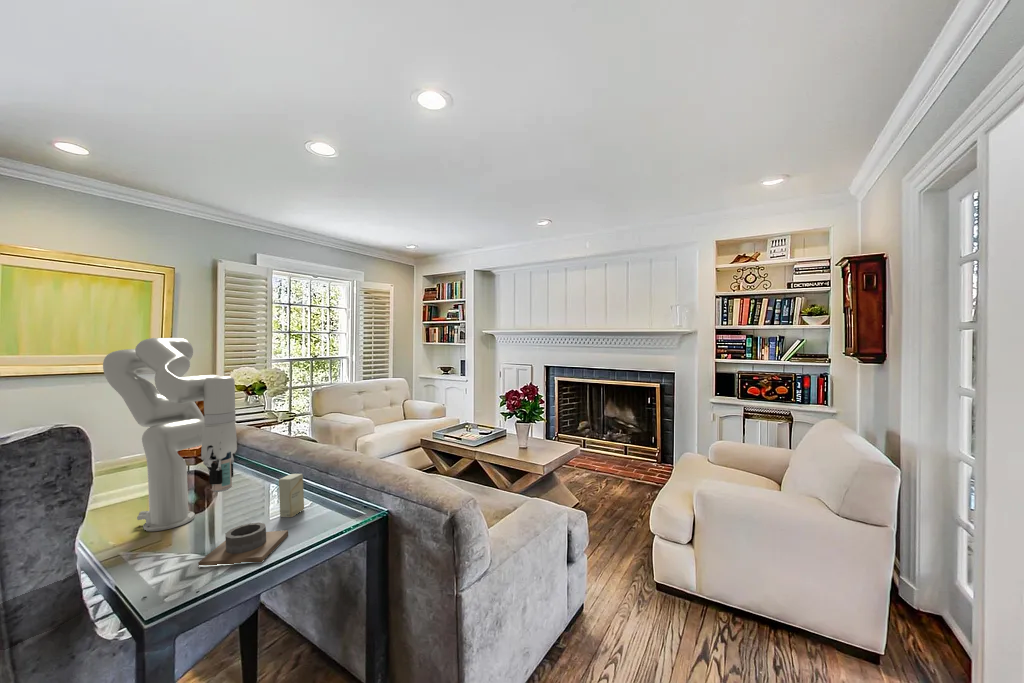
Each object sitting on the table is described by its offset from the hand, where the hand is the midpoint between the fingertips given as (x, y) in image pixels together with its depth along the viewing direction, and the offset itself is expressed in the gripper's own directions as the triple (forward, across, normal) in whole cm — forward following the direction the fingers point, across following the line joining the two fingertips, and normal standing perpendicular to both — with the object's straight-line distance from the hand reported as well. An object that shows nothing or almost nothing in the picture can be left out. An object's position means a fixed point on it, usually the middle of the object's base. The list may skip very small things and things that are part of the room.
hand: (221, 480), depth 123 cm
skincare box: (+16, -12, +15) cm, 25 cm away
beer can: (+3, 0, 0) cm, 3 cm away
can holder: (+15, +12, +13) cm, 23 cm away
